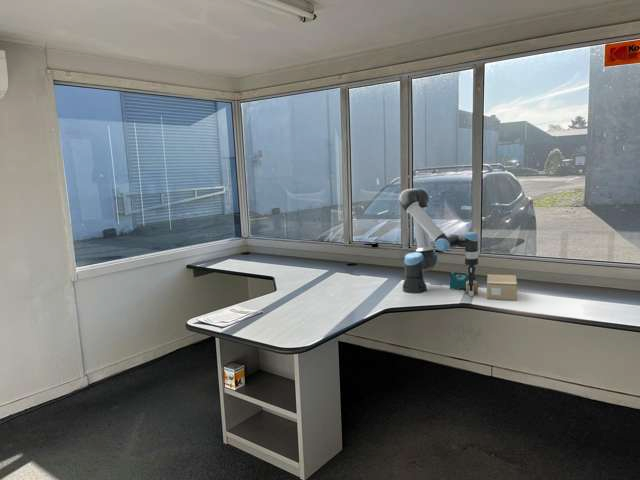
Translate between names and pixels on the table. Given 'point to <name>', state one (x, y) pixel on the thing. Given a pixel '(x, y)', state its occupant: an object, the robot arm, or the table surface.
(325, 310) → the table surface
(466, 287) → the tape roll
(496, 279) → the lid
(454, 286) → the teal irregular block
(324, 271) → the table surface
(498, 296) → the carton
